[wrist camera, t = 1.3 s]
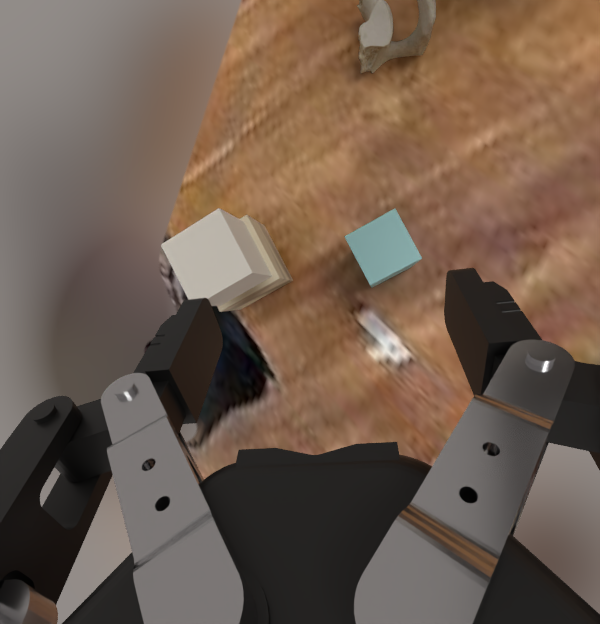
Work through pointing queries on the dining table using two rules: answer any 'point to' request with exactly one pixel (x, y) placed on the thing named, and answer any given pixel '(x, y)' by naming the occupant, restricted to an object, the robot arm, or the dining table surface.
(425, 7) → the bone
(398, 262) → the teal block
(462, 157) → the dining table surface
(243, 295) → the beech block
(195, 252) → the cream block
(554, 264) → the dining table surface
